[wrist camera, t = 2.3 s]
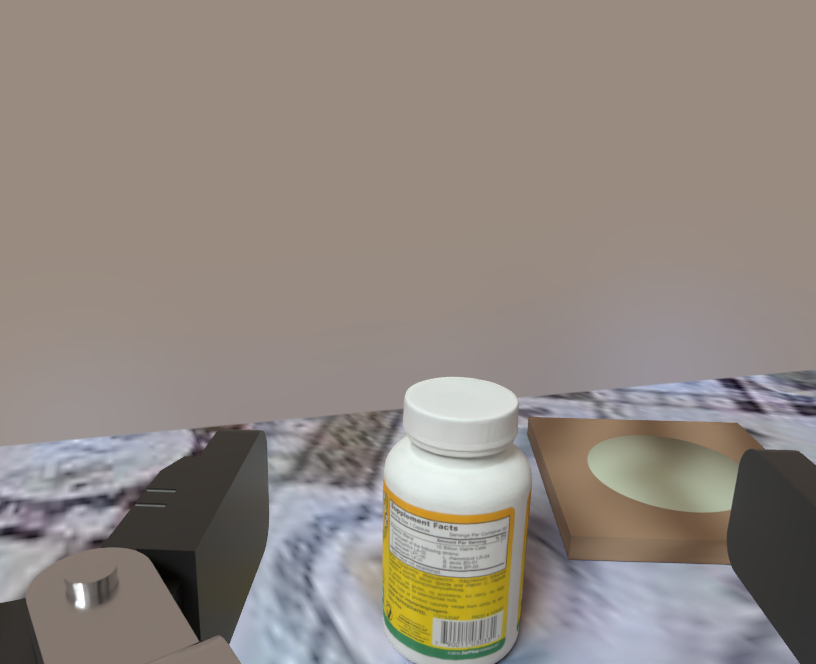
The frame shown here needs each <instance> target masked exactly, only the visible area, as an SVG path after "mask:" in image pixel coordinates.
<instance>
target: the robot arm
mask: <svg viewBox="0 0 816 664" xmlns="http://www.w3.org/2000/svg"><path fill="white" fill-rule="evenodd" d="M268 528H269V494H268V461H267V440H266V435H265V432H264V431H261V430H233V429H219V430H218V431H217V432H216V433H215V435H214V436H213V438H212V439H211V441H210V442H209V444H208V445H207V446H206V448H205V449H204V451H203V452H202V454H201V455H200V457H188V456H185V457H183V458H181V459H179V460H178V461H176V462H174V463H173V464H171V465H169V466H168V467H166V468H164V469H163V470H161V471H160V472H159V473H158V475H157V476H156V477H155V479H154V480H153V481H152V482H151V484H150V485H149V486H148V488H147V492H144V493H143V494H142V495H141V497H140V498H139V499H138V500H137V502H136V506H133V507H132V508H131V509H130V511H129V512H128V513H127V515H126V516H125V517H124V518H123V520H122V521H121V522H120V524H119V525H118V526H117V527H116V529H115V530H114V531H113V533H112V534H111V535H110V536H109V538H108V539H107V540H106V542H105V543H104V544H103V545H102V547H101V548H98V549H92V550H88V551H84V552H80V553H77V554H74V555H71V556H68V557H66V558H64V559H61V560H59V561H57V562H56V563H54V564H52V565H50V566H49V567H47V568H46V569H45V570H43V571H42V572H41V573H40V574H39V575H37V576H36V577H35V579H34V580H33V581H32V582H31V584H30V585H29V587H28V589H27V593H26V598H24V599H20V600H15V601H10V602H4V603H0V664H241V663H240V661H239V659H238V658H237V656H236V655H235V653H234V652H233V650H232V649H231V647H230V646H229V644H230V641H231V638H232V636H233V633H234V630H235V628H236V625H237V622H238V620H239V617H240V615H241V612H242V609H243V607H244V604H245V601H246V599H247V596H248V593H249V591H250V588H251V586H252V583H253V580H254V578H255V575H256V572H257V570H258V567H259V564H260V562H261V559H262V557H263V554H264V551H265V547H266V542H267V536H268ZM727 552H728V557H729V560H730V563H731V566H732V568H733V570H734V572H735V573H736V575H737V576H738V577H739V579H740V580H741V582H742V583H743V584H744V586H745V587H746V589H747V590H748V591H749V593H750V594H751V596H752V597H753V598H754V600H755V601H756V603H757V604H758V605H759V607H760V608H761V610H762V611H763V612H764V614H765V615H766V617H767V618H768V619H769V621H770V622H771V624H772V625H773V626H774V628H775V629H776V631H777V632H778V633H779V635H780V636H781V638H782V639H783V640H784V642H785V643H786V645H787V646H788V647H789V649H790V650H791V652H792V653H793V654H794V656H795V657H796V659H797V660H798V661H799V663H800V664H816V465H815V464H814V463H812V462H811V461H810V460H809V459H808V458H806V457H805V456H804V455H803V454H802V453H800V452H799V451H796V450H767V449H748V450H747V451H745V452H744V454H743V455H742V457H741V460H740V463H739V468H738V473H737V479H736V484H735V490H734V496H733V501H732V507H731V512H730V518H729V523H728V529H727Z"/></svg>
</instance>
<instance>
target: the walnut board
mask: <svg viewBox="0 0 816 664" xmlns="http://www.w3.org/2000/svg"><path fill="white" fill-rule="evenodd" d="M527 435H528V438H529V441H530V444H531V447H532V450H533V453H534V456H535V459H536V462H537V465H538V468H539V471H540V474H541V477H542V480H543V483H544V486H545V489H546V492H547V495H548V498H549V501H550V504H551V507H552V510H553V513H554V516H555V519H556V522H557V525H558V528H559V531H560V534H561V537H562V540H563V543H564V546H565V549H566V552H567V555H568V558H569V559H576V560H608V561H640V562H673V563H705V564H731V563H730V560H729V557H728V552H727V529H728V523H729V518H730V512H731V507H732V501H733V496H734V490H735V484H736V479H737V473H738V468H739V463H740V460H741V457H742V455H743V454H744V452H745V451H747V450H748V449H764V448H763V447H762V446H761V445H760V444H759V443H758V442H757V441H756V440H755V439H754V438H753V437H752V436H751V435H750V434H749V433H748V432H747V431H746V430H744V429H743V428H742V427H741V426H740V425H739V424H738V423H723V422H687V421H651V420H615V419H579V418H543V417H529V419H528V432H527Z"/></svg>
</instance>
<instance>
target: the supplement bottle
mask: <svg viewBox="0 0 816 664" xmlns="http://www.w3.org/2000/svg"><path fill="white" fill-rule="evenodd" d="M518 409H519V404H518V399H517V397H516V396H515V395H514V393H513V392H511V391H510V390H508V389H506V388H504V387H502V386H500V385H498V384H495V383H492V382H488V381H484V380H480V379H473V378H463V377H442V378H434V379H429V380H425V381H421V382H419V383H417V384H415V385H413V386H411V387H410V388H409V389H408V390H407V392H406V394H405V399H404V417H403V426H404V429H405V434H406V437H404V438H403V439H401V440H400V441H399V442H398V443H397V444H396V445H395V446H394V447H393V448H392V450H391V451H390V453H389V454H388V457H387V459H386V462H385V467H384V486H383V579H382V607H383V626H384V630H385V633H386V636H387V638H388V639H389V641H390V643H391V644H392V646H393V647H394V648H395V649H396V650H397V651H398V652H399V653H400V654H401V655H403V656H404V657H405V658H407V659H408V660H410V661H412V662H413V663H415V664H495V663H496V662H498V661H499V660H501V659H502V658H503V657H504V656H505V655H506V654H507V653H508V652H509V651H510V650H511V648H512V647H513V645H514V643H515V641H516V639H517V636H518V631H519V623H520V615H521V602H522V592H523V579H524V567H525V555H526V543H527V532H528V521H529V510H530V499H531V488H532V473H531V468H530V465H529V463H528V460H527V458H526V457H525V455H524V454H523V453H522V451H521V450H520V449H519V448H518V447H517V446H515V445H514V444H513V442H514V438H515V437H516V435H517V433H518Z"/></svg>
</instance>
